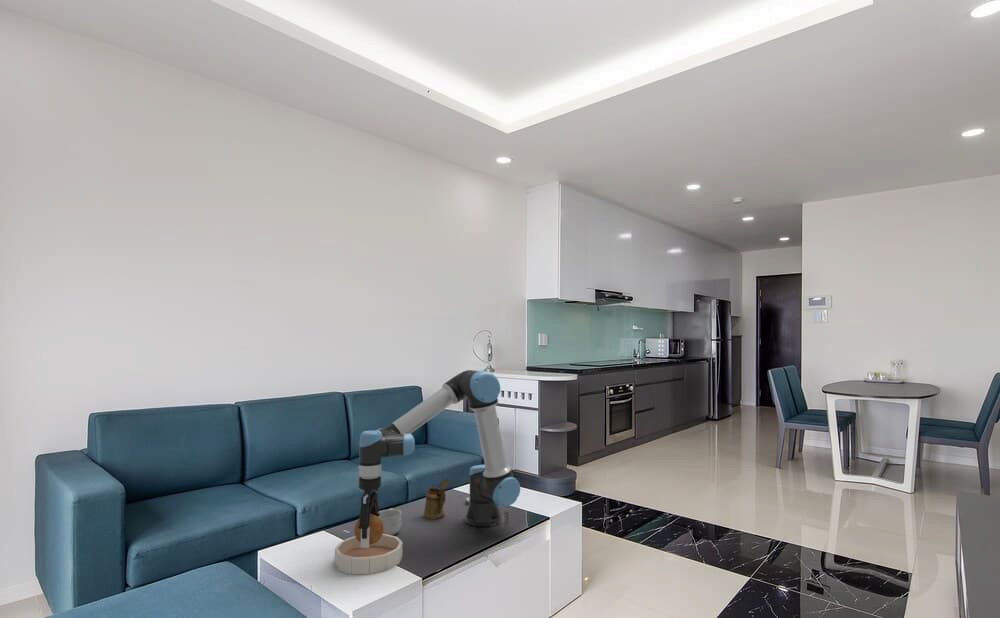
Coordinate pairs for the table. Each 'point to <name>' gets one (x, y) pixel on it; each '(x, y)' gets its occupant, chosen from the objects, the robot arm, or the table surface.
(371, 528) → the onion
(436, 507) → the wooden mug
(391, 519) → the teacup
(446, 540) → the table surface
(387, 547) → the bowl
